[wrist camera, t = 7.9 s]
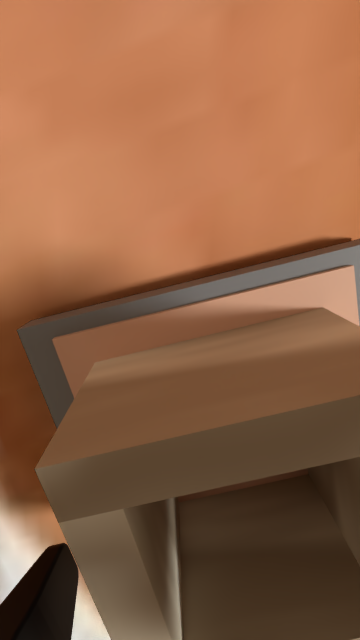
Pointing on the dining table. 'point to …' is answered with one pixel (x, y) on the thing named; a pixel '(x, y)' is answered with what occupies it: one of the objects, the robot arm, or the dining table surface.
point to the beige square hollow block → (218, 484)
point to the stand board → (189, 321)
